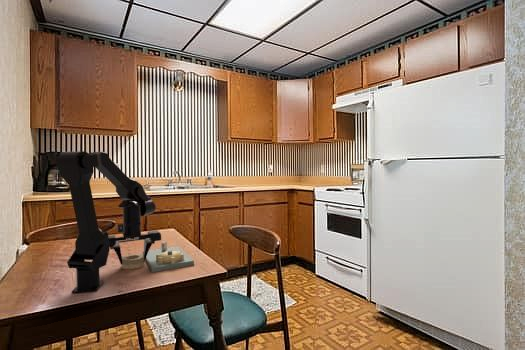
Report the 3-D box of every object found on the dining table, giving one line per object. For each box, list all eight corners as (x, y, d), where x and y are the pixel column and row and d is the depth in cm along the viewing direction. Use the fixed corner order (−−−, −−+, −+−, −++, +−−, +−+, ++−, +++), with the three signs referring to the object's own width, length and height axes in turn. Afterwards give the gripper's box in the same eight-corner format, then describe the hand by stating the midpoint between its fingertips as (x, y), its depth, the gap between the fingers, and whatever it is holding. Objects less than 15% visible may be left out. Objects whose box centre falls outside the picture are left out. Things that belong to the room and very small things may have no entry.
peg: (166, 253, 113) (166, 243, 112) (161, 253, 112) (160, 243, 112) (167, 251, 115) (167, 241, 114) (161, 252, 114) (161, 242, 114)
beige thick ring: (145, 266, 102) (144, 258, 102) (123, 270, 99) (122, 261, 99) (142, 261, 108) (142, 253, 108) (121, 264, 105) (121, 256, 105)
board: (193, 264, 104) (193, 252, 103) (152, 272, 96) (152, 258, 96) (178, 249, 123) (178, 239, 122) (142, 255, 116) (142, 244, 115)
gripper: (155, 213, 115) (156, 252, 115) (101, 218, 105) (102, 260, 106) (161, 217, 105) (162, 260, 105) (102, 222, 96) (103, 270, 96)
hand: (133, 262), depth 103 cm, fingers closed on beige thick ring, 7 cm apart
